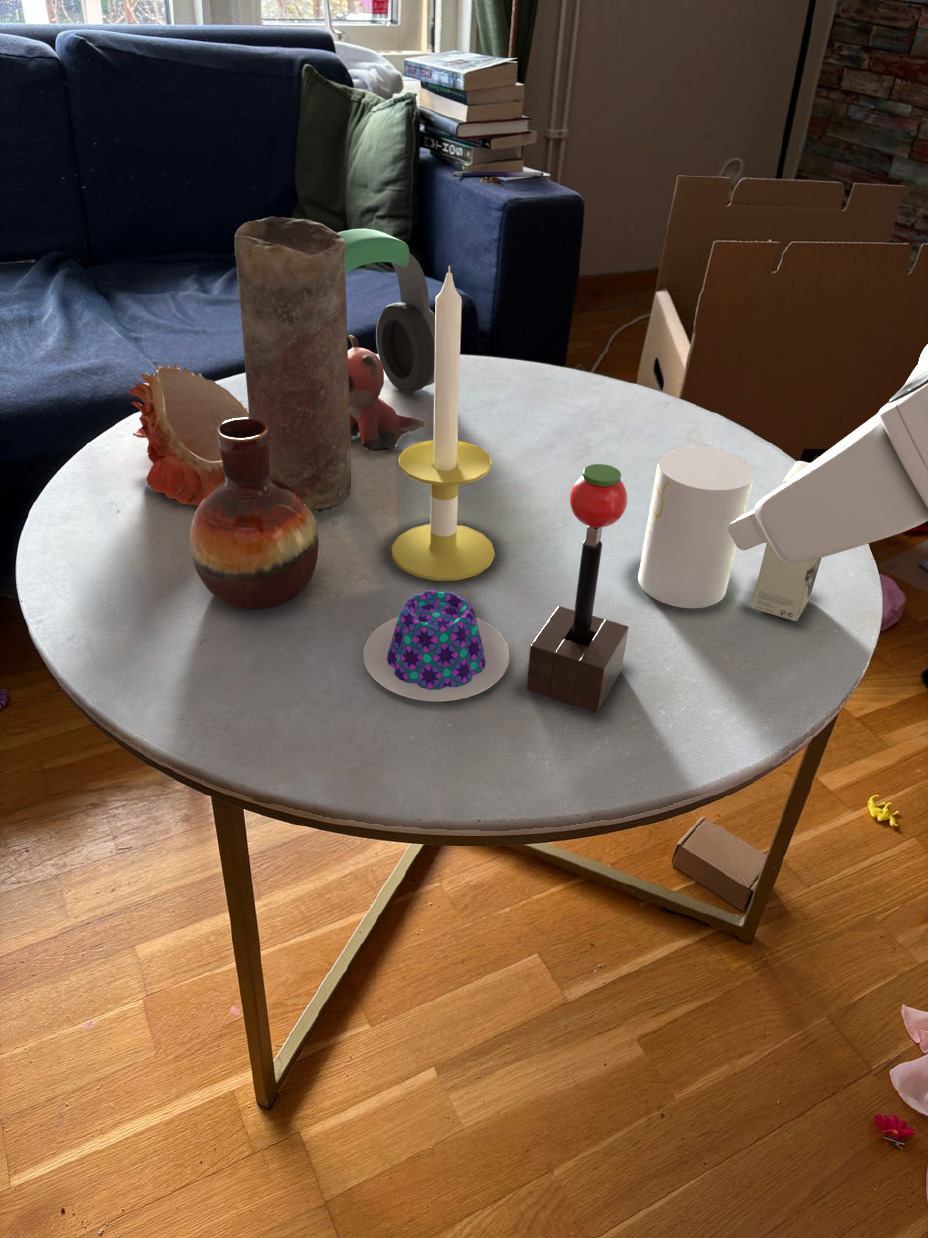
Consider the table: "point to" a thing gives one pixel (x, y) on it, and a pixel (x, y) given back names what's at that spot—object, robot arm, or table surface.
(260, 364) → the brown textured cylinder
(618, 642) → the block
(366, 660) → the pudding
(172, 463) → the seashell
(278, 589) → the vase
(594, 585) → the joystick
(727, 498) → the white cylinder
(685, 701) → the table surface
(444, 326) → the candle
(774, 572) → the box
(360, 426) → the stuffed fox
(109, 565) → the table surface
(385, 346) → the headphones
